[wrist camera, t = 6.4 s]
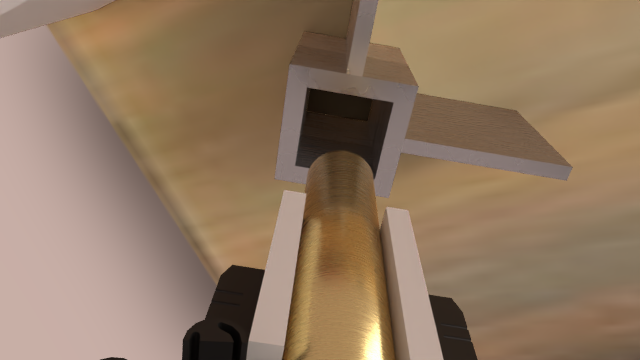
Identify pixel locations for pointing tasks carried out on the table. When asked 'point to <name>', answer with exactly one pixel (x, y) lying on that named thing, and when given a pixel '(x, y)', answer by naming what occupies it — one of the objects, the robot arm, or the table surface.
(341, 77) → the hinge
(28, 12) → the milk carton
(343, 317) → the pin
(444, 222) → the table surface
